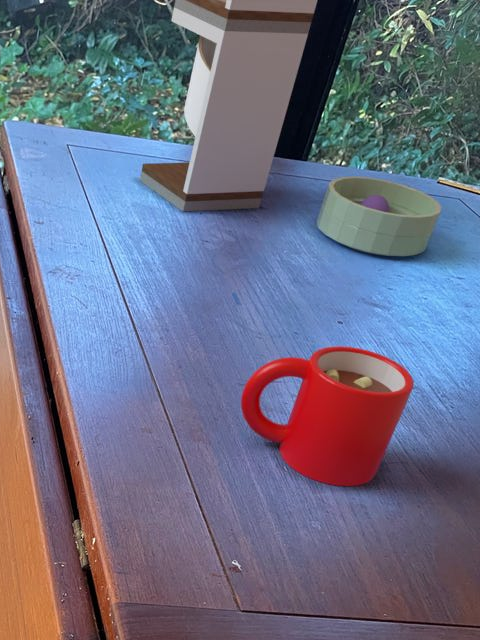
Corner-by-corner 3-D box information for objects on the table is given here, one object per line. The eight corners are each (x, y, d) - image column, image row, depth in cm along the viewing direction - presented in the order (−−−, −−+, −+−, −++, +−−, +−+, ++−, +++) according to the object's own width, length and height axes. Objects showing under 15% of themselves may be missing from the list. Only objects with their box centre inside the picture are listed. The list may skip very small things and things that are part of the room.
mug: (231, 414, 84) (257, 327, 79) (373, 444, 83) (409, 357, 78) (226, 462, 78) (255, 371, 73) (379, 494, 77) (419, 404, 72)
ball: (384, 232, 121) (380, 225, 124) (396, 201, 119) (391, 195, 122) (355, 226, 122) (351, 219, 124) (366, 195, 119) (362, 189, 122)
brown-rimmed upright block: (213, 178, 132) (295, -158, 108) (259, 207, 125) (357, -144, 101) (139, 180, 128) (208, -169, 104) (182, 211, 121) (267, -155, 97)
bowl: (414, 228, 126) (430, 187, 123) (433, 267, 116) (451, 224, 113) (310, 211, 126) (323, 169, 123) (321, 249, 116) (335, 205, 113)
